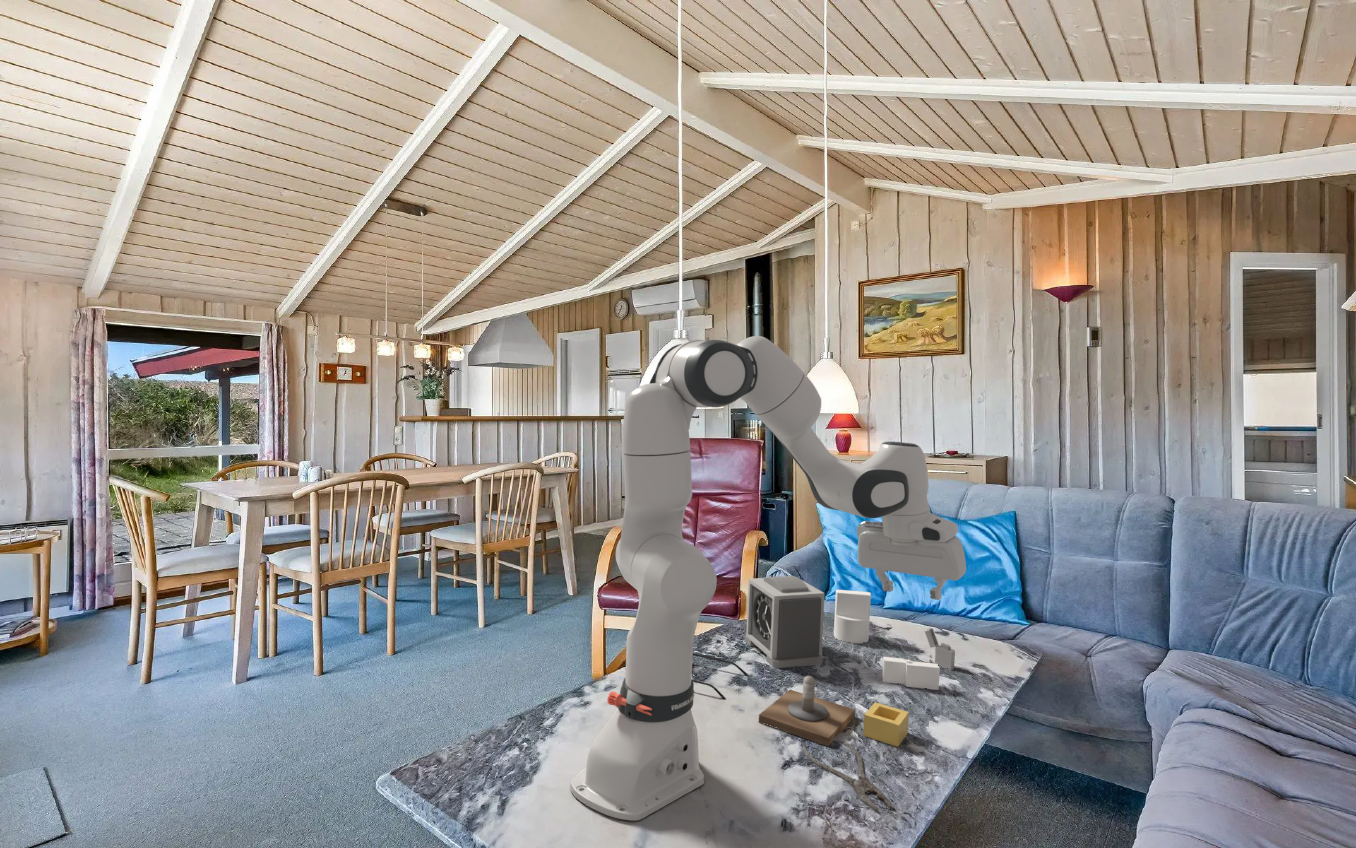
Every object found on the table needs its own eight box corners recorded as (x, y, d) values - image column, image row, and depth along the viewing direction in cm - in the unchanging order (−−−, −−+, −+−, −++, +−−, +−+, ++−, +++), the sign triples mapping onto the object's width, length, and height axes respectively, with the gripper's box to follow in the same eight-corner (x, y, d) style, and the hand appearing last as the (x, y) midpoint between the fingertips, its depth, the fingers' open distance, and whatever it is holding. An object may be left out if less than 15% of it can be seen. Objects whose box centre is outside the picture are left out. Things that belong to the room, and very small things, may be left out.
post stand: (828, 746, 118) (830, 699, 118) (758, 722, 126) (760, 678, 126) (854, 716, 130) (856, 674, 129) (789, 696, 138) (791, 656, 137)
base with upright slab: (834, 641, 171) (837, 596, 170) (832, 629, 179) (834, 586, 179) (870, 645, 169) (873, 599, 169) (866, 632, 178) (868, 589, 178)
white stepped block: (952, 689, 145) (953, 664, 145) (926, 704, 138) (928, 677, 137) (890, 667, 156) (891, 643, 156) (864, 679, 149) (865, 655, 149)
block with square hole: (898, 747, 119) (899, 725, 119) (863, 735, 123) (864, 714, 122) (907, 732, 124) (908, 712, 124) (874, 722, 128) (875, 702, 128)
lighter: (954, 668, 156) (956, 635, 156) (951, 670, 155) (952, 636, 155) (926, 658, 161) (927, 626, 161) (922, 660, 160) (924, 627, 160)
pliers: (839, 736, 121) (924, 796, 103) (839, 740, 121) (924, 801, 103) (797, 747, 117) (878, 811, 99) (796, 751, 117) (877, 817, 99)
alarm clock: (743, 640, 169) (746, 569, 169) (789, 636, 173) (792, 567, 173) (774, 669, 152) (778, 590, 151) (825, 664, 156) (828, 587, 155)
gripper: (849, 524, 130) (854, 591, 132) (954, 534, 116) (959, 609, 118) (863, 516, 135) (868, 581, 136) (966, 525, 121) (971, 597, 122)
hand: (911, 594), depth 127 cm, fingers open, 8 cm apart
